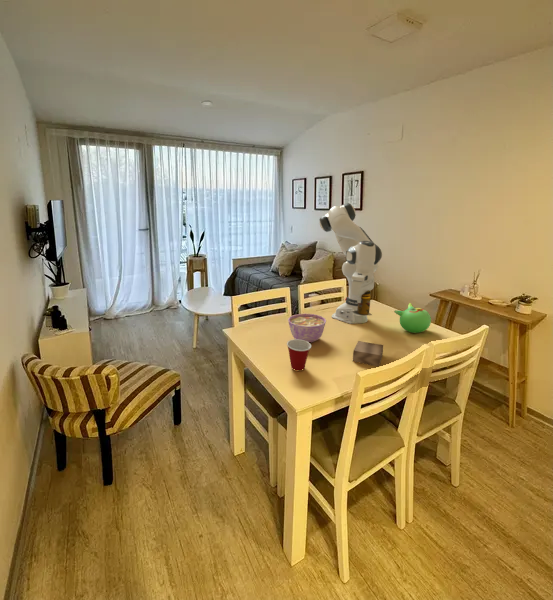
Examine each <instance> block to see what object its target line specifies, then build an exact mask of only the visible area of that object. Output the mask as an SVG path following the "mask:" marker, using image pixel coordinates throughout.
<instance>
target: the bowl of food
mask: <svg viewBox="0 0 553 600" xmlns="http://www.w3.org/2000/svg"><path fill="white" fill-rule="evenodd" d="M287 321H288V325H289V328H290V329H289V330H290V333H291V335H292V337H293V338H294V339H299V340H304V341H307V342H311V343H314V342H316V341H318V340H319V339H321V337H322V335H323V332H324V330H325V327H326V324H327V323H326V322H327V320H326V318H325V317H323V316H322V315H318V314H314V313H298V314H294V315H291V316H290V317H288V318H287Z"/></svg>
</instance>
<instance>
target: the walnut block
mask: <svg viewBox="0 0 553 600" xmlns="http://www.w3.org/2000/svg"><path fill="white" fill-rule="evenodd" d="M383 354H384V344H380V343H373V342H368V341H367V342H366V341H363V340H358V341H357V343H356V345H355V347H354V349H353V351H352V362H353V361H355V362H354V363H357V362H360V363H359V364H362V363H364V364H363V365H367V364H368V366H374V367H378V366H379V367H380V366H381V362H382V358H383Z"/></svg>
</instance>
